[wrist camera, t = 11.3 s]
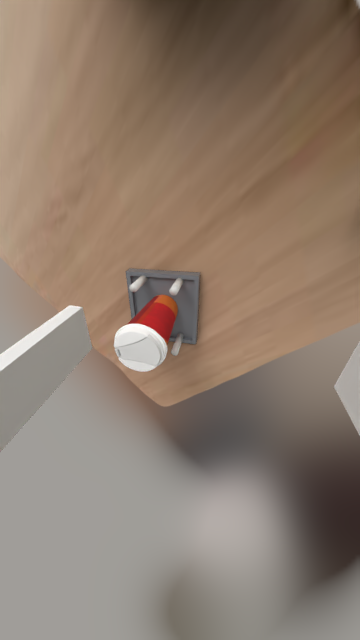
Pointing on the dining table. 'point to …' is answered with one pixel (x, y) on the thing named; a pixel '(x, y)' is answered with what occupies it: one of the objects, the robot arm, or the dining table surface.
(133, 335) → the coffee cup
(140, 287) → the tray
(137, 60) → the dining table surface
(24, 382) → the robot arm
